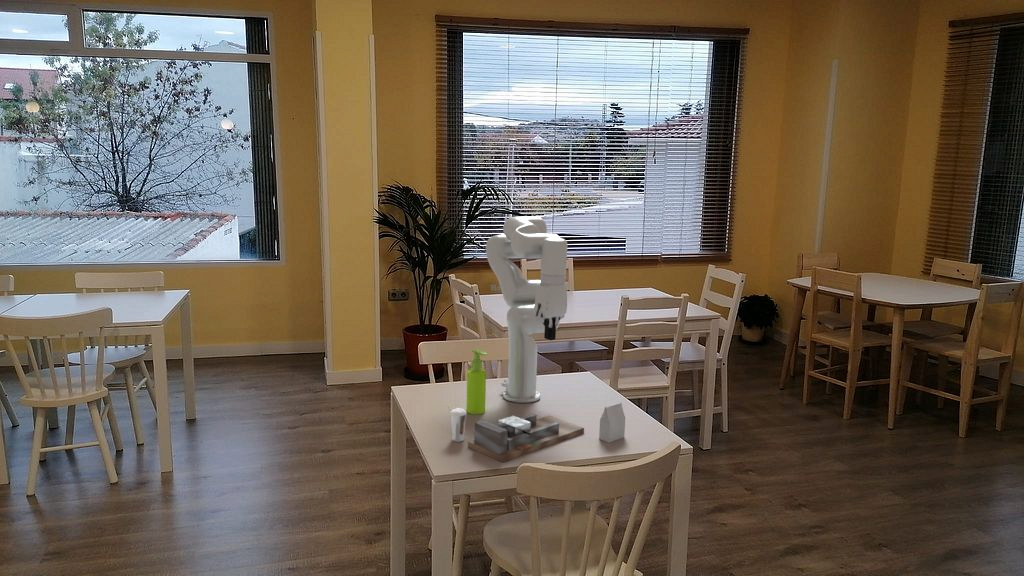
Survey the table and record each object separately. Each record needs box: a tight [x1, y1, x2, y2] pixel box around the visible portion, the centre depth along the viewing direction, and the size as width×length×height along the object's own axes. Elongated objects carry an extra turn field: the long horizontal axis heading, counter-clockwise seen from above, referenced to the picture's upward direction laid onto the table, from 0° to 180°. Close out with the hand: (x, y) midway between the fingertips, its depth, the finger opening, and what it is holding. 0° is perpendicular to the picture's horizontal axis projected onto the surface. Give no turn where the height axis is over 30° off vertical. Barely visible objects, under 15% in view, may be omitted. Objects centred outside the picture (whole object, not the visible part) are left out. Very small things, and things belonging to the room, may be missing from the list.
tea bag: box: [598, 402, 626, 444], centre depth 213 cm, size 4×7×10 cm, turn 131°
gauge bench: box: [467, 413, 585, 463], centre depth 210 cm, size 33×14×8 cm, turn 134°
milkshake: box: [447, 406, 468, 443], centre depth 209 cm, size 4×5×10 cm
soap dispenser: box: [466, 348, 488, 415], centre depth 231 cm, size 6×7×20 cm
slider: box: [497, 415, 532, 439], centre depth 204 cm, size 9×10×5 cm
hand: (549, 338), depth 223 cm, fingers closed
